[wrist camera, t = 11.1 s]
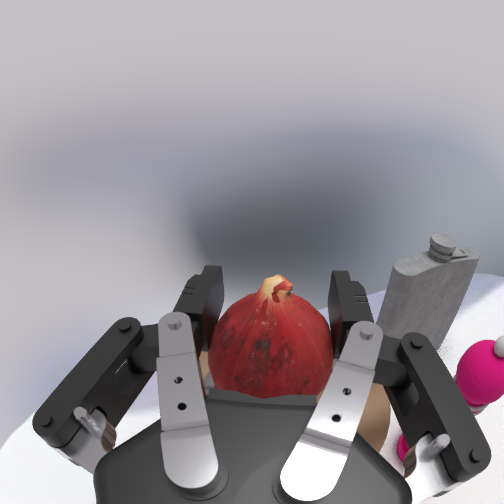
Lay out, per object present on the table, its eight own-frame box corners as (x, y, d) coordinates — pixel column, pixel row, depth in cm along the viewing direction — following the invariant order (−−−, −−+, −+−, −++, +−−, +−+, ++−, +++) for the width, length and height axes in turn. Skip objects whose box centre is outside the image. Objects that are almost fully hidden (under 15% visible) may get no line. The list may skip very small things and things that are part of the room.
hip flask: (366, 378, 36) (410, 257, 26) (355, 358, 40) (388, 238, 30) (442, 347, 39) (489, 240, 29) (430, 331, 43) (469, 227, 32)
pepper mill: (436, 475, 21) (543, 377, 11) (386, 466, 24) (477, 364, 14) (445, 428, 27) (528, 318, 16) (399, 419, 30) (470, 302, 20)
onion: (304, 455, 12) (336, 357, 8) (199, 420, 14) (163, 311, 10) (331, 370, 16) (356, 256, 12) (242, 349, 18) (235, 236, 14)
